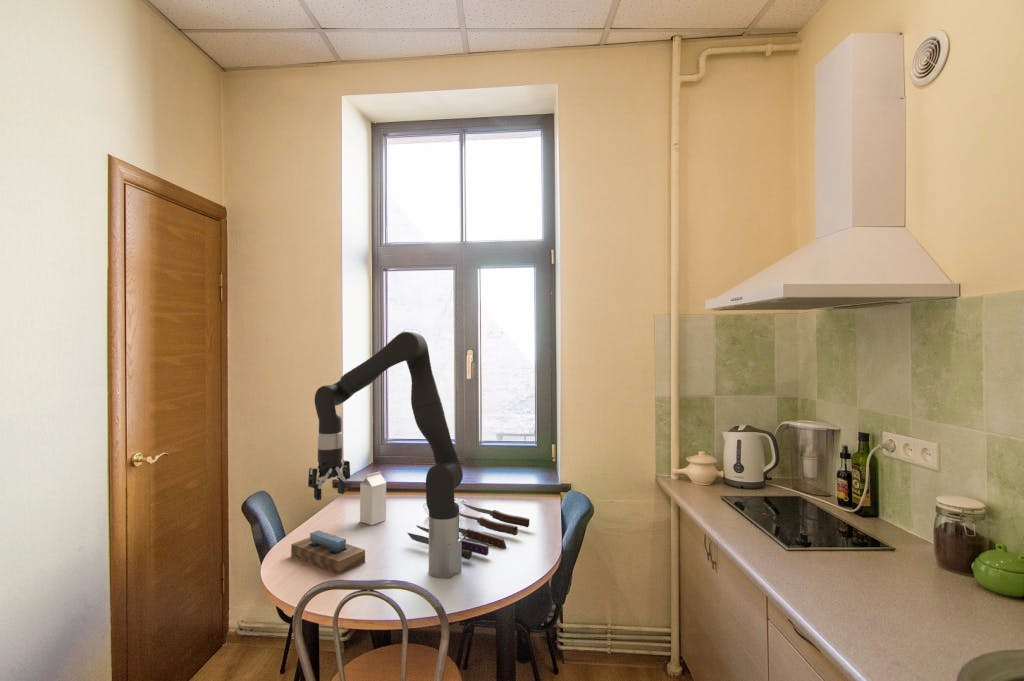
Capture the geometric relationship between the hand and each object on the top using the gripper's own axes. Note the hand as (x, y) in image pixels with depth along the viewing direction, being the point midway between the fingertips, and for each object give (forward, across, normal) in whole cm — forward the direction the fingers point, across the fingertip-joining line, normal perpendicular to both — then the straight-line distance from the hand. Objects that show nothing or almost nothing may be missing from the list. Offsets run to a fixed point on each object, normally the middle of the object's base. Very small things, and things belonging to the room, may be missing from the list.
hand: (329, 496), depth 156 cm
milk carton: (+20, +32, +15) cm, 41 cm away
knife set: (+21, +38, -27) cm, 51 cm away
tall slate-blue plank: (+20, 0, 0) cm, 20 cm away
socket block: (+20, 0, 0) cm, 20 cm away
